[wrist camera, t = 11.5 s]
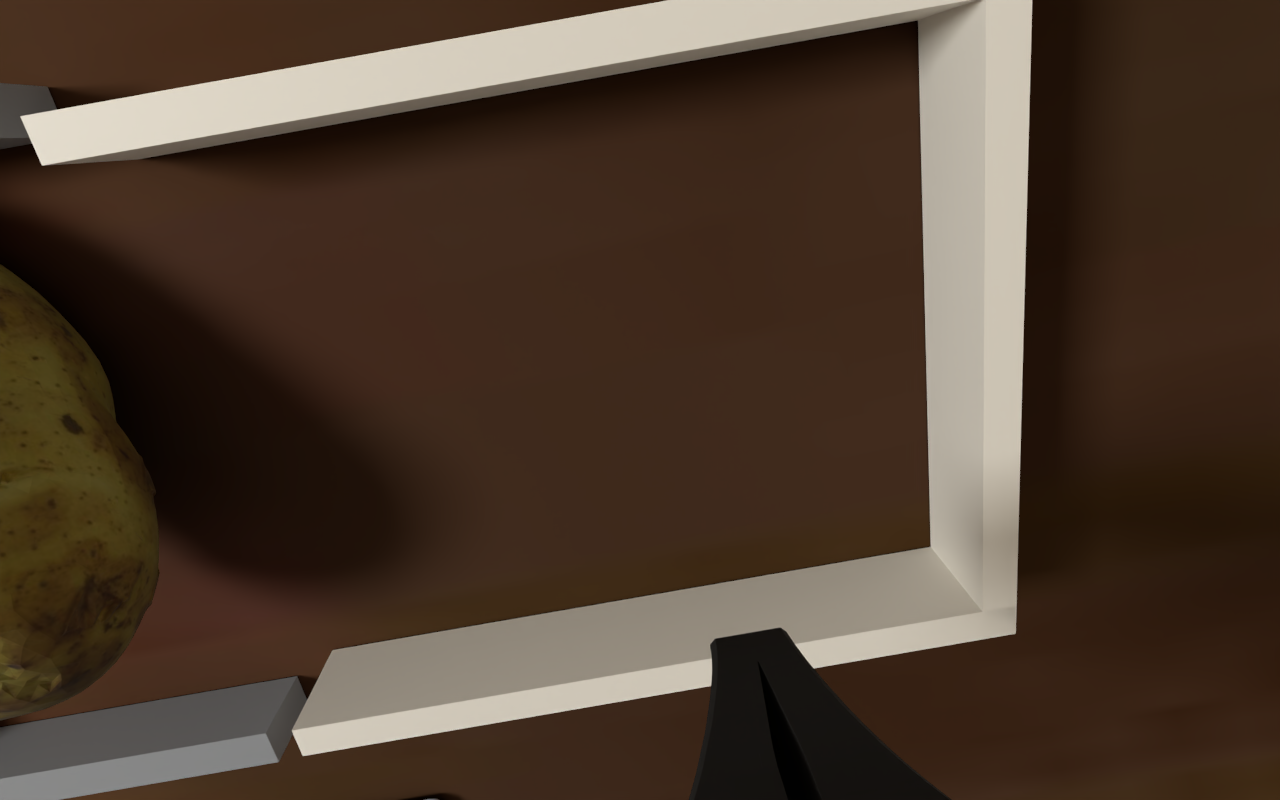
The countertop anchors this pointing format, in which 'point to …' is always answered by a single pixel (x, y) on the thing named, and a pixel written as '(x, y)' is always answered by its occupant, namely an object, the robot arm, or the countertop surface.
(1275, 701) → the countertop surface
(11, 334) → the potato
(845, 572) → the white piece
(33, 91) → the frame
